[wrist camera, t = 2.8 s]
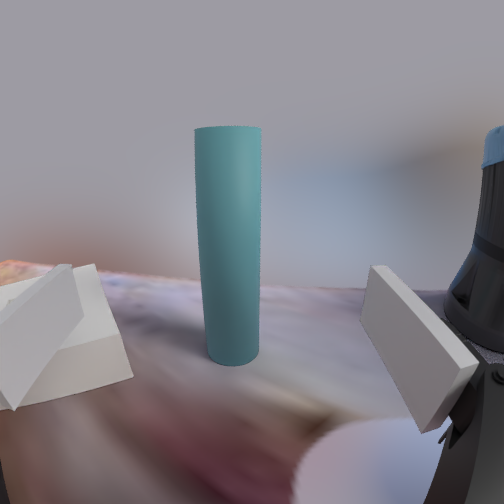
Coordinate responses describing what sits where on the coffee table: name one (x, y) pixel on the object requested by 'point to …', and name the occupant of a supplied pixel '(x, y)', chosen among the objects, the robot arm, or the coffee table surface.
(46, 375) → the socket block
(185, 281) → the coffee table surface
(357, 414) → the coffee table surface
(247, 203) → the peg
